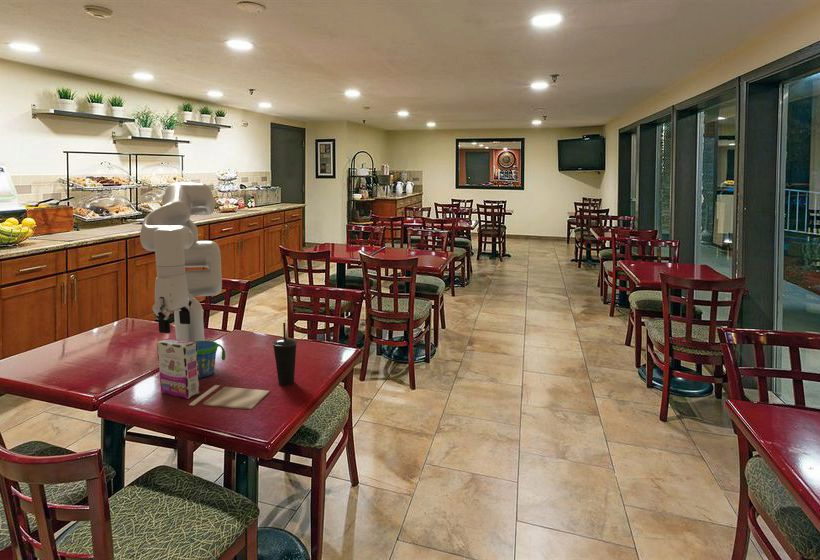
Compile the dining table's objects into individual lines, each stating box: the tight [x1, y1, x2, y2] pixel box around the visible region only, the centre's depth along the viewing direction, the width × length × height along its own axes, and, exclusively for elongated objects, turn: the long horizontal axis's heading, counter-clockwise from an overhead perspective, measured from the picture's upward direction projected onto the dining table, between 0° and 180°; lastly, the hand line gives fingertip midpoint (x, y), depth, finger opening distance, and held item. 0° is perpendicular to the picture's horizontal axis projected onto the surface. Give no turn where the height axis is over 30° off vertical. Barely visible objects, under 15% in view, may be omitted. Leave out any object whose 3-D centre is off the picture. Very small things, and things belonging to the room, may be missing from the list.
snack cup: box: [196, 340, 227, 379], centre depth 168 cm, size 16×10×10 cm
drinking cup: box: [272, 322, 298, 387], centre depth 161 cm, size 8×8×20 cm
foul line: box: [188, 384, 220, 406], centre depth 152 cm, size 2×14×1 cm, turn 171°
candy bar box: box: [156, 337, 201, 400], centre depth 152 cm, size 11×5×16 cm, turn 68°
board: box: [202, 386, 271, 410], centre depth 151 cm, size 15×12×1 cm
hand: (175, 328), depth 149 cm, fingers open, 9 cm apart
